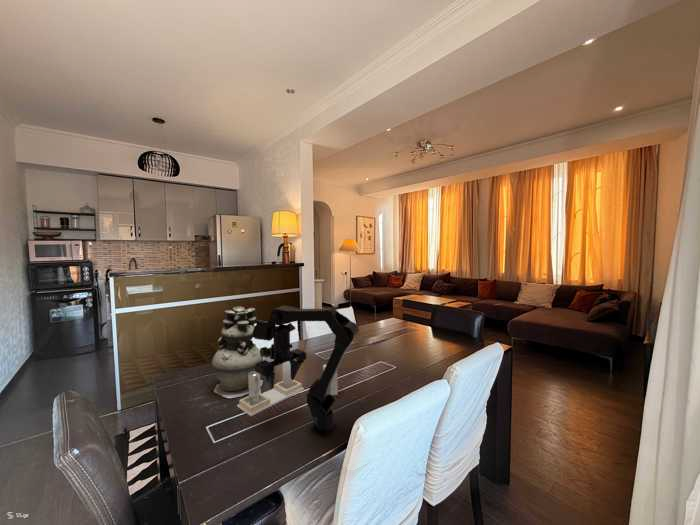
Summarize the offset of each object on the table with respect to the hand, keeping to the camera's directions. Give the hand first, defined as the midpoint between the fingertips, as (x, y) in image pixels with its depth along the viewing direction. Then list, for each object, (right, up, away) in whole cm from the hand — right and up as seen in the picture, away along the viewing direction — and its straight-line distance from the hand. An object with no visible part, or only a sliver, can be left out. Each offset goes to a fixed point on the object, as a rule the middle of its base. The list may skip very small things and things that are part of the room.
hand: (282, 384), depth 102 cm
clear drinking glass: (-13, -12, +9) cm, 19 cm away
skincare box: (+16, -12, +19) cm, 27 cm away
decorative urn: (-26, -12, +25) cm, 38 cm away
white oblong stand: (-8, -12, +15) cm, 21 cm away
